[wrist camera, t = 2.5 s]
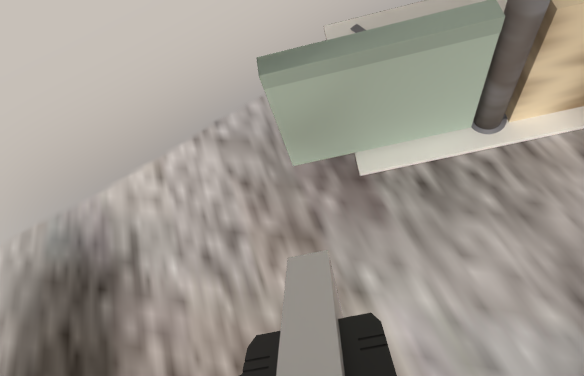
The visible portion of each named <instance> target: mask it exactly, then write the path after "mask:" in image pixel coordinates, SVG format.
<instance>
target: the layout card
mask: <svg viewBox="0 0 584 376" xmlns="http://www.w3.org/2000/svg"><path fill="white" fill-rule="evenodd" d="M482 1H486V0H424V1H420V2H417V3H412V4H408V5H405V6H401V7H397V8H393V9H389V10H385V11H381V12H377V13H373V14H369V15H365V16H361V17H357V18H353V19H349V20H345V21H341V22H338V23H334V24H329V25H325V26H324V32H325V35H326V40H329V39H334V38H338V37H342V36H346V35H350V34H354V33H358V32H362V31H366V30H370V29H374V28H378V27H382V26H386V25H390V24H394V23H398V22H402V21H406V20H410V19H414V18H418V17H422V16H426V15H430V14H434V13H438V12H442V11H446V10H450V9H454V8H458V7H462V6H466V5H470V4H474V3H478V2H482ZM497 2H498V4H499V6H500V7H501V9H502V11H503V13H504V10H505V7H506V3H507V0H497ZM507 119H508V118H507V116H506V114H504V117H503V119H502V122H501V124H500V125H499V126H498V127H497V128H494V129H490V130H486V129H482V128H479V127H478V126H476V125H475V123H474V122H473V123H472V126H471V127H470V128H466V129H461V130H456V131H452V132H447V133H443V134H438V135H433V136H429V137H424V138H420V139H415V140H411V141H406V142H401V143H397V144H392V145H388V146H383V147H378V148H374V149H369V150H365V151H360V152H356V153H354V154H355V158H356V162H357V166H358V170H359V174H360V176H362V175H367V174H372V173H376V172H381V171H386V170H391V169H395V168H400V167H405V166H409V165H414V164H419V163H424V162H428V161H433V160H438V159H442V158H447V157H452V156H457V155H461V154H466V153H471V152H476V151H480V150H485V149H490V148H494V147H499V146H504V145H509V144H513V143H518V142H523V141H527V140H532V139H537V138H542V137H546V136H551V135H556V134H561V133H565V132H570V131H575V130H579V129H584V106H582V107H577V108H573V109H568V110H564V111H559V112H554V113H550V114H545V115H541V116H536V117H531V118H527V119H522V120H518V121H513V122H508V120H507Z"/></svg>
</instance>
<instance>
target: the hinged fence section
mask: <svg viewBox="0 0 584 376" xmlns="http://www.w3.org/2000/svg"><path fill="white" fill-rule="evenodd" d="M504 19H505V14H504V13H503V11H502V9H501V7H500V6H499V4H498V2H497V0H486V1H482V2H478V3H474V4H470V5H466V6H462V7H458V8H454V9H450V10H446V11H442V12H438V13H434V14H430V15H426V16H422V17H418V18H414V19H410V20H406V21H402V22H398V23H394V24H390V25H386V26H382V27H378V28H374V29H370V30H366V31H362V32H358V33H354V34H350V35H346V36H342V37H338V38H334V39H329V40H325V41H322V42H318V43H313V44H309V45H305V46H301V47H297V48H293V49H289V50H285V51H281V52H277V53H273V54H269V55H265V56H261V57H257V65H258V72H259V78H260V80H261V83H262V86H263V88H264V90H265V93H266V96H267V99H268V101H269V104H270V106H271V109H272V112H273V114H274V117H275V120H276V122H277V125H278V128H279V130H280V133H281V136H282V138H283V141H284V143H285V146H286V149H287V151H288V154H289V157H290V159H291V162H292V165H293V166H296V165H300V164H305V163H310V162H314V161H319V160H323V159H328V158H333V157H337V156H342V155H346V154H351V153H356V152H360V151H365V150H369V149H374V148H378V147H383V146H388V145H392V144H397V143H401V142H406V141H411V140H415V139H420V138H424V137H429V136H433V135H438V134H443V133H447V132H452V131H456V130H461V129H466V128H470V127H471V126H472V123H473V119H474V116H475V113H476V110H477V106H478V103H479V100H480V96H481V93H482V90H483V87H484V83H485V80H486V77H487V73H488V70H489V67H490V63H491V60H492V57H493V54H494V50H495V47H496V44H497V40H498V37H499V34H500V32H501V29H502V26H503V23H504Z"/></svg>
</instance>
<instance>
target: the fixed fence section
mask: <svg viewBox="0 0 584 376" xmlns="http://www.w3.org/2000/svg"><path fill="white" fill-rule="evenodd" d="M504 14H505V19H504V23H503V26H502V29H501V32H500V34H499V37H498V40H497V44H496V47H495V50H494V54H493V57H492V60H491V63H490V67H489V70H488V73H487V77H486V80H485V83H484V87H483V90H482V93H481V96H480V100H479V103H478V106H477V110H476V113H475V116H474V119H473V122H474V123H475V125H476V126H478V127H479V128H482V129H486V130H490V129H494V128H497V127H498V126H499V125H500V124H501V122H502V119H503V117H504V114H506V116H507V118H508V119H507V120H508V122H513V121H518V120H522V119H527V118H531V117H536V116H541V115H545V114H550V113H554V112H559V111H564V110H568V109H573V108H577V107H582V106H584V0H507V3H506V7H505V10H504Z"/></svg>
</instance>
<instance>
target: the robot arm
mask: <svg viewBox="0 0 584 376" xmlns="http://www.w3.org/2000/svg"><path fill="white" fill-rule="evenodd" d="M240 376H397V375H396V372H395V368H394V365H393V361H392V358H391V355H390V351H389V348H388V344H387V341H386V337H385V334H384V330H383V327H382V324H381V321H380V320H378V319H377V318H376V317H375V316H374V315H373V314H372V313H367V314H362V315H357V316H351V317H346V318H343V313H342V309H341V304H340V300H339V296H338V292H337V287H336V283H335V279H334V274H333V270H332V266H331V262H330V257H329V253H328V250H325V251H320V252H315V253H310V254H305V255H300V256H295V257H291V258H288V261H287V271H286V281H285V291H284V302H283V312H282V322H281V331H277V332H272V333H267V334H261V335H256V337H255V338H254V339H253V341H252V342H251V344H250V345H249V346H248V348H247V353H246V357H245V363H244V367H243V373H242V375H240Z"/></svg>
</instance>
